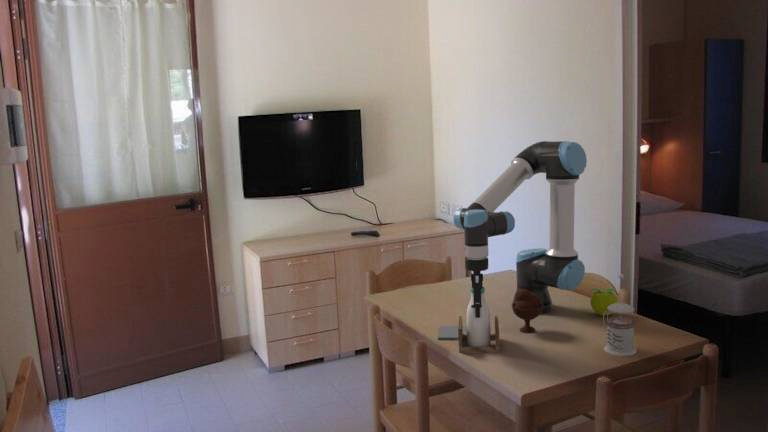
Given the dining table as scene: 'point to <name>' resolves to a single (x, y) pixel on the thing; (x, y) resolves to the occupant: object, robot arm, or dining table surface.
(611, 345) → the french press
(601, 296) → the fruit
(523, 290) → the ice cream bowl
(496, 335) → the cradle
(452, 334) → the coaster
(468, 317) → the milk bottle
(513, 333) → the dining table surface
